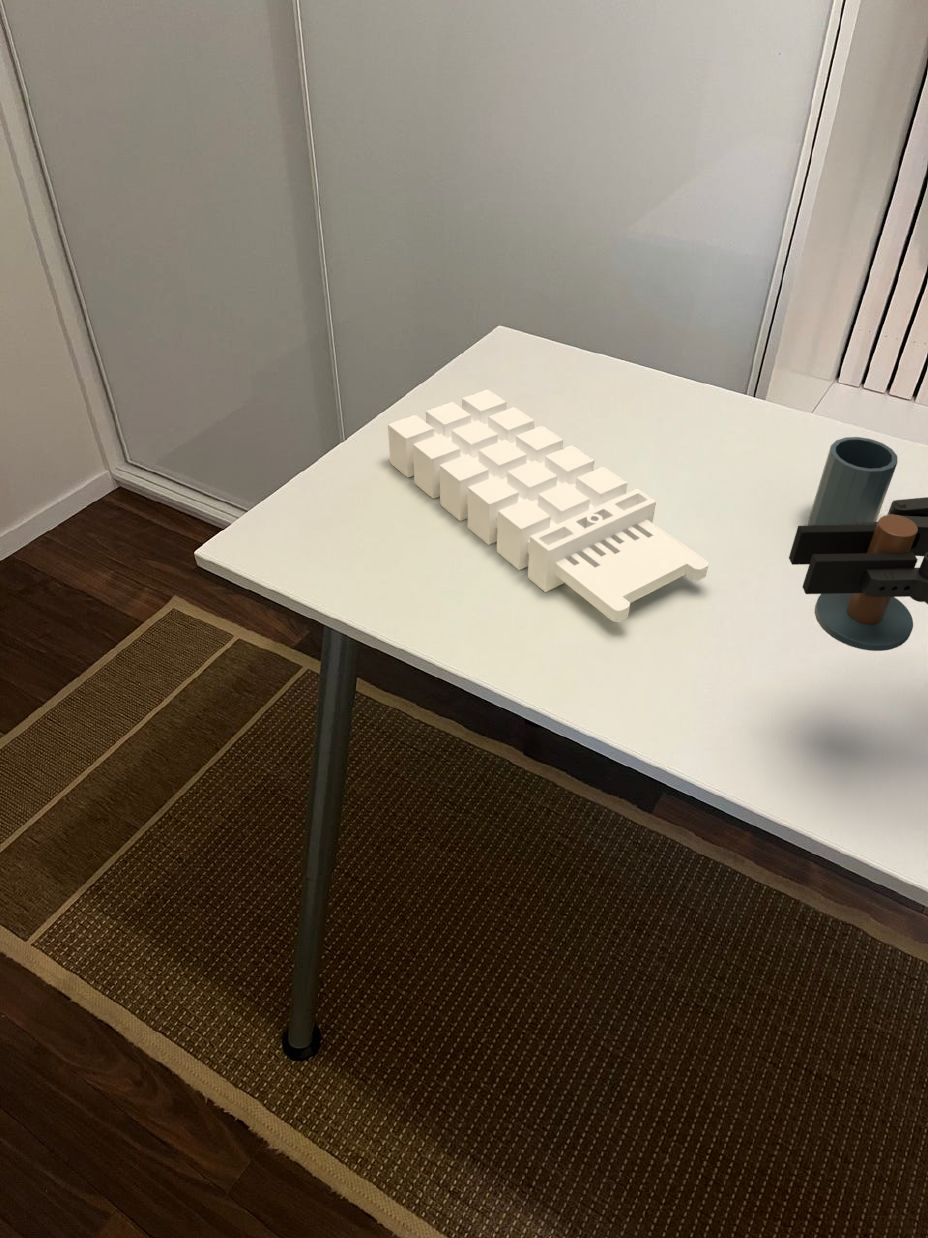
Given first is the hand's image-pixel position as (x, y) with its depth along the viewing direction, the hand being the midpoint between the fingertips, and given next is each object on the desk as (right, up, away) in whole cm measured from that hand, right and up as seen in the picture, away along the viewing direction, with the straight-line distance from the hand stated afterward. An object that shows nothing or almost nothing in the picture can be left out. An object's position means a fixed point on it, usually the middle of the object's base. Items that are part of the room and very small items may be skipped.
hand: (802, 559), depth 62 cm
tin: (+15, +5, +32) cm, 36 cm away
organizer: (-15, +6, +33) cm, 37 cm away
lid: (+5, -4, +4) cm, 8 cm away
